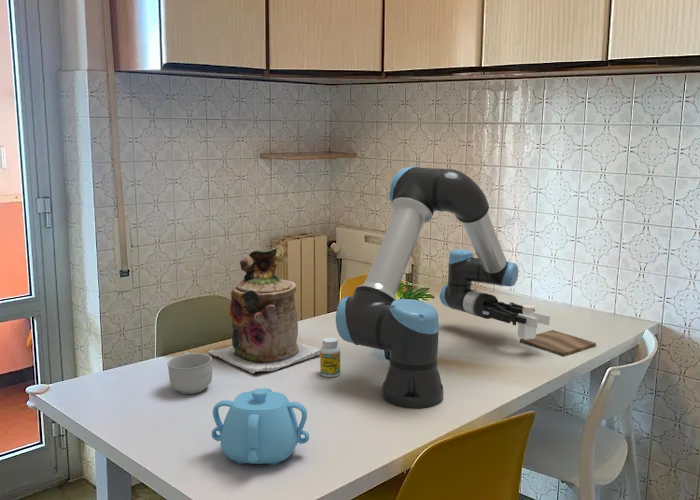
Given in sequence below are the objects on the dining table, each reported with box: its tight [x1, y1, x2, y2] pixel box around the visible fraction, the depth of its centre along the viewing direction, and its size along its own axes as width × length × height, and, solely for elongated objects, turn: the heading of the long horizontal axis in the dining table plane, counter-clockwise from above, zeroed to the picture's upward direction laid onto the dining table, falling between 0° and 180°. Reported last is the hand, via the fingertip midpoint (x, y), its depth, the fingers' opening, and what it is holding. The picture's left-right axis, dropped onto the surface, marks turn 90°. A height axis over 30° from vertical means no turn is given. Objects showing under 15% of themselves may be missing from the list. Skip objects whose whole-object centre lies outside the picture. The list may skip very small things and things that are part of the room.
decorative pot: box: [211, 387, 310, 466], centre depth 138 cm, size 16×16×14 cm
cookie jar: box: [207, 247, 321, 374], centre depth 194 cm, size 25×25×32 cm
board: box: [519, 329, 597, 357], centre depth 209 cm, size 16×16×1 cm
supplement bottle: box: [319, 337, 341, 378], centre depth 182 cm, size 5×5×10 cm
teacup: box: [166, 351, 213, 395], centre depth 172 cm, size 14×11×8 cm
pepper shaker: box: [517, 304, 537, 340], centre depth 198 cm, size 4×4×10 cm
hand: (542, 322), depth 194 cm, fingers closed on pepper shaker, 5 cm apart
